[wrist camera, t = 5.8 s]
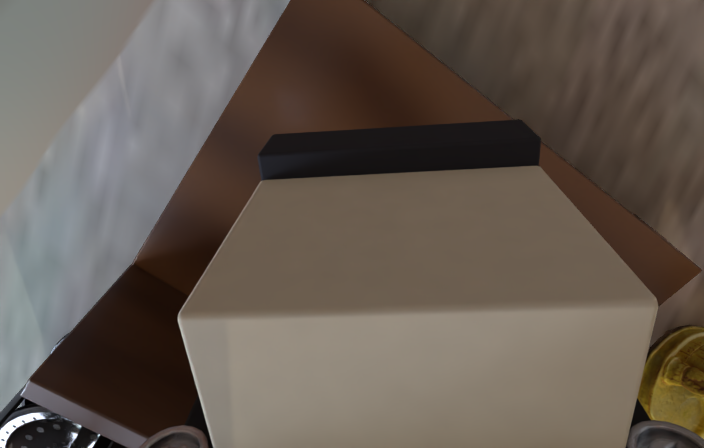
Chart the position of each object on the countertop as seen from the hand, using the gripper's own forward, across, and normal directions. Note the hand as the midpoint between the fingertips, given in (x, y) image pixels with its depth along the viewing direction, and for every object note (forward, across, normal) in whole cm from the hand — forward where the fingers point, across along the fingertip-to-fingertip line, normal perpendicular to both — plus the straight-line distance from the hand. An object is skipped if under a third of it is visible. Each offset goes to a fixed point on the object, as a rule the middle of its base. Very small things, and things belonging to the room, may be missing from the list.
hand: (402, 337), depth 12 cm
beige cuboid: (+1, 0, +1) cm, 1 cm away
